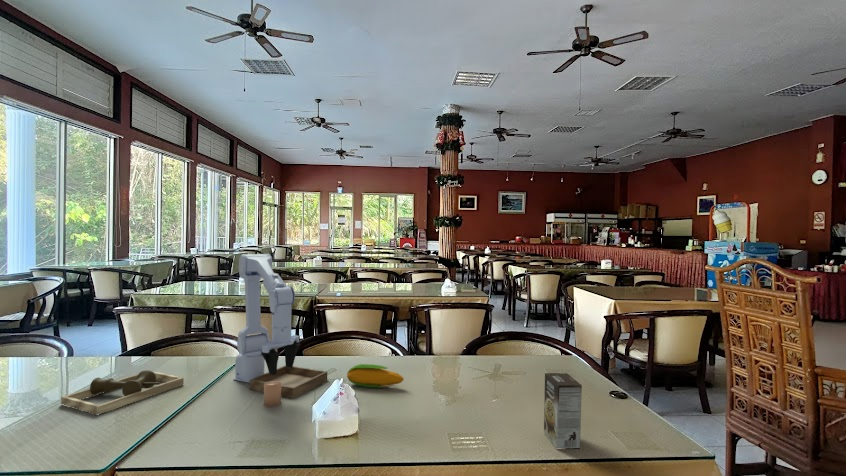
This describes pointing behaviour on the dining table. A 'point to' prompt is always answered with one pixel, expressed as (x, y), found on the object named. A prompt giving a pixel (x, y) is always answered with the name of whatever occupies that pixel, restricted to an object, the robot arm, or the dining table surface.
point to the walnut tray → (291, 380)
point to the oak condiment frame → (75, 401)
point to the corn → (373, 376)
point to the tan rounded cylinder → (272, 393)
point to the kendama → (125, 384)
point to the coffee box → (562, 410)
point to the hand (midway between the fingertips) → (281, 370)
